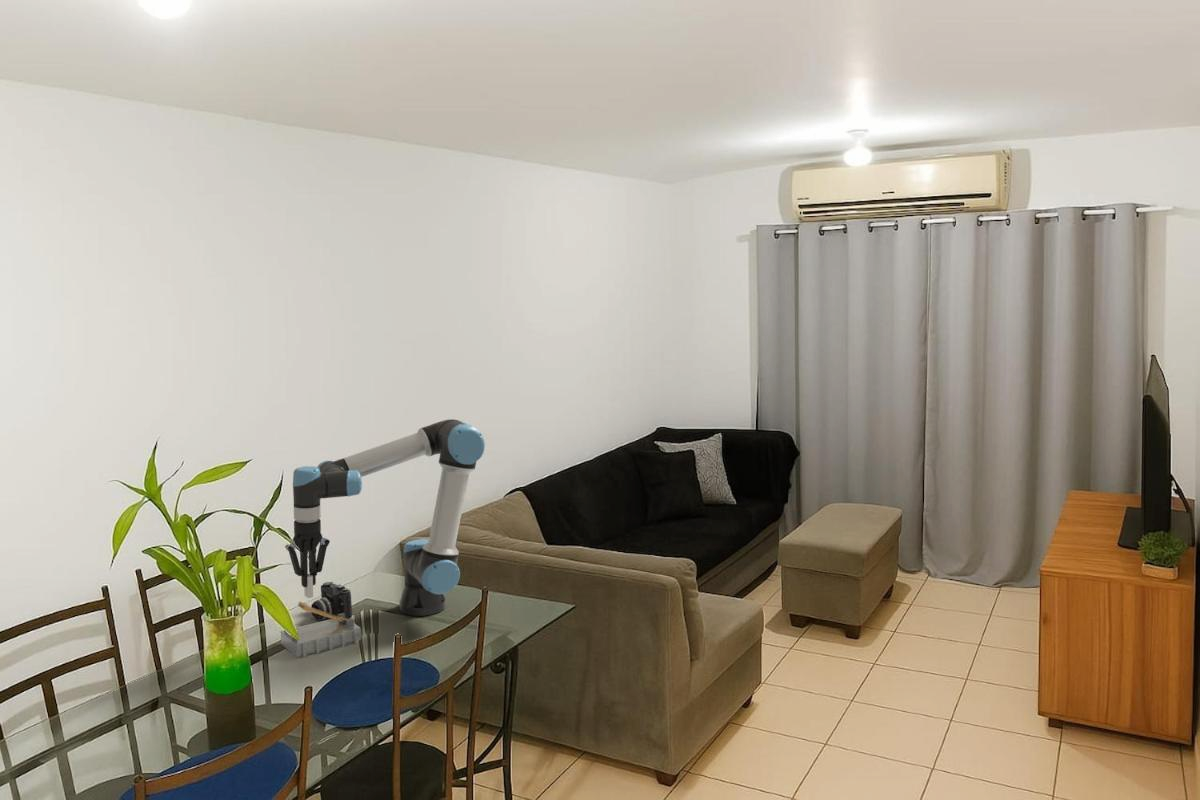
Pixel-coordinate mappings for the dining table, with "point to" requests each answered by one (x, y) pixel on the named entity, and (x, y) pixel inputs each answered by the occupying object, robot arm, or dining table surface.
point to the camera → (333, 601)
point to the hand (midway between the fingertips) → (308, 596)
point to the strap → (321, 612)
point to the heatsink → (321, 636)
